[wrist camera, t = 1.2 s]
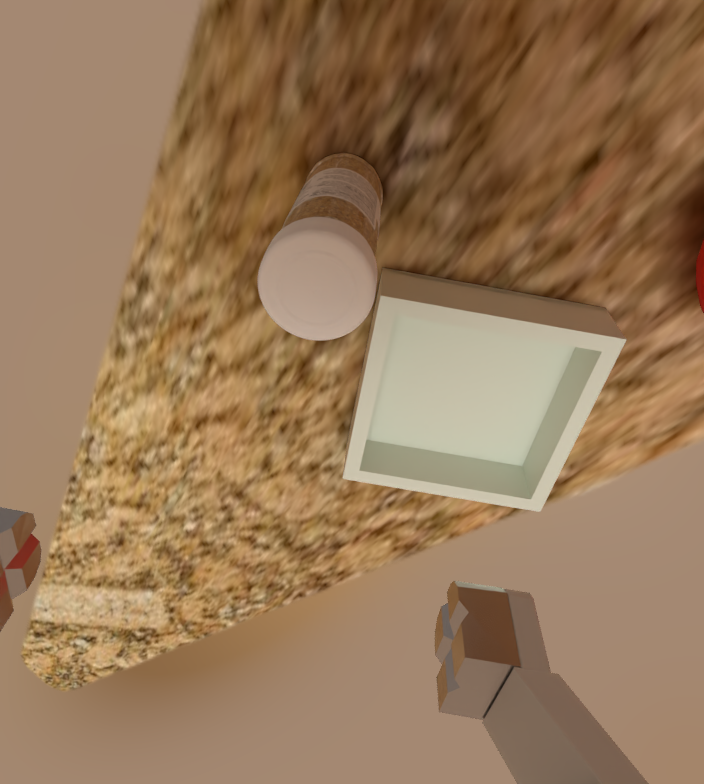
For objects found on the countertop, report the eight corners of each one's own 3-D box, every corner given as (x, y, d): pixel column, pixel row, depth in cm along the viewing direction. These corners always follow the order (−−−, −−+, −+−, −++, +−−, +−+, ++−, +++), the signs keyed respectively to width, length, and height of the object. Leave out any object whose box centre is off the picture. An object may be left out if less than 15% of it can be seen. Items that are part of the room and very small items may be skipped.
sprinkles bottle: (349, 247, 34) (325, 365, 23) (288, 196, 33) (231, 297, 22) (401, 187, 32) (401, 286, 21) (337, 130, 31) (303, 205, 20)
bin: (382, 267, 35) (380, 295, 32) (605, 307, 35) (626, 339, 32) (347, 441, 43) (342, 478, 40) (529, 473, 43) (540, 511, 40)
